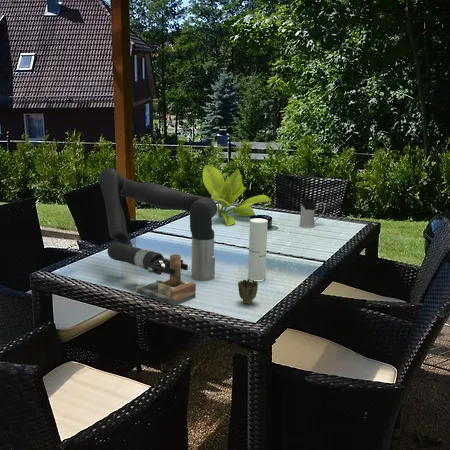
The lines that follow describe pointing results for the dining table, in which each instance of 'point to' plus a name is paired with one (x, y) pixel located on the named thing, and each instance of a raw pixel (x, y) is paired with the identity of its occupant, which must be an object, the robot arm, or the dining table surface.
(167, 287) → the sliding block
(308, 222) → the grey mug
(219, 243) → the dining table surface
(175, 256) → the dowel
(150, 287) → the rail board
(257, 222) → the cylindrical container
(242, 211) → the artificial plant
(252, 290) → the cup
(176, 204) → the robot arm
